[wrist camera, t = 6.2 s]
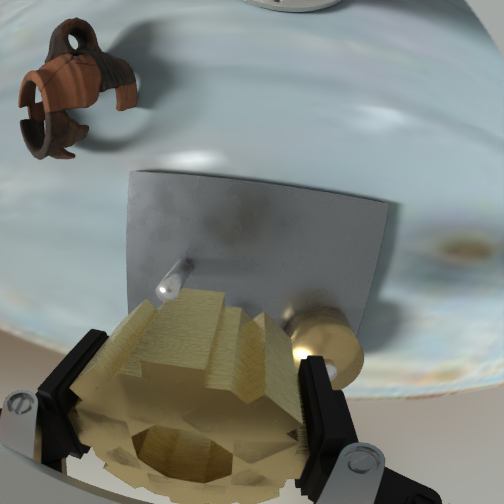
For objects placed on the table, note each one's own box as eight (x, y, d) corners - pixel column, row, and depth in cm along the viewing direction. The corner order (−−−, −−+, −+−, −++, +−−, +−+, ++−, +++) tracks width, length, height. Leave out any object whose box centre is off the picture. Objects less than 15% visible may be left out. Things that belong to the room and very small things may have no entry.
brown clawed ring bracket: (150, 138, 23) (64, 170, 16) (91, 143, 27) (22, 170, 20) (140, 4, 16) (49, 3, 10) (80, 36, 20) (8, 47, 14)
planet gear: (312, 299, 10) (340, 377, 6) (283, 438, 12) (287, 512, 8) (106, 278, 10) (39, 335, 6) (130, 418, 12) (101, 483, 8)
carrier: (382, 202, 23) (419, 216, 17) (339, 366, 27) (355, 412, 21) (136, 170, 23) (97, 174, 16) (136, 341, 27) (110, 381, 21)
